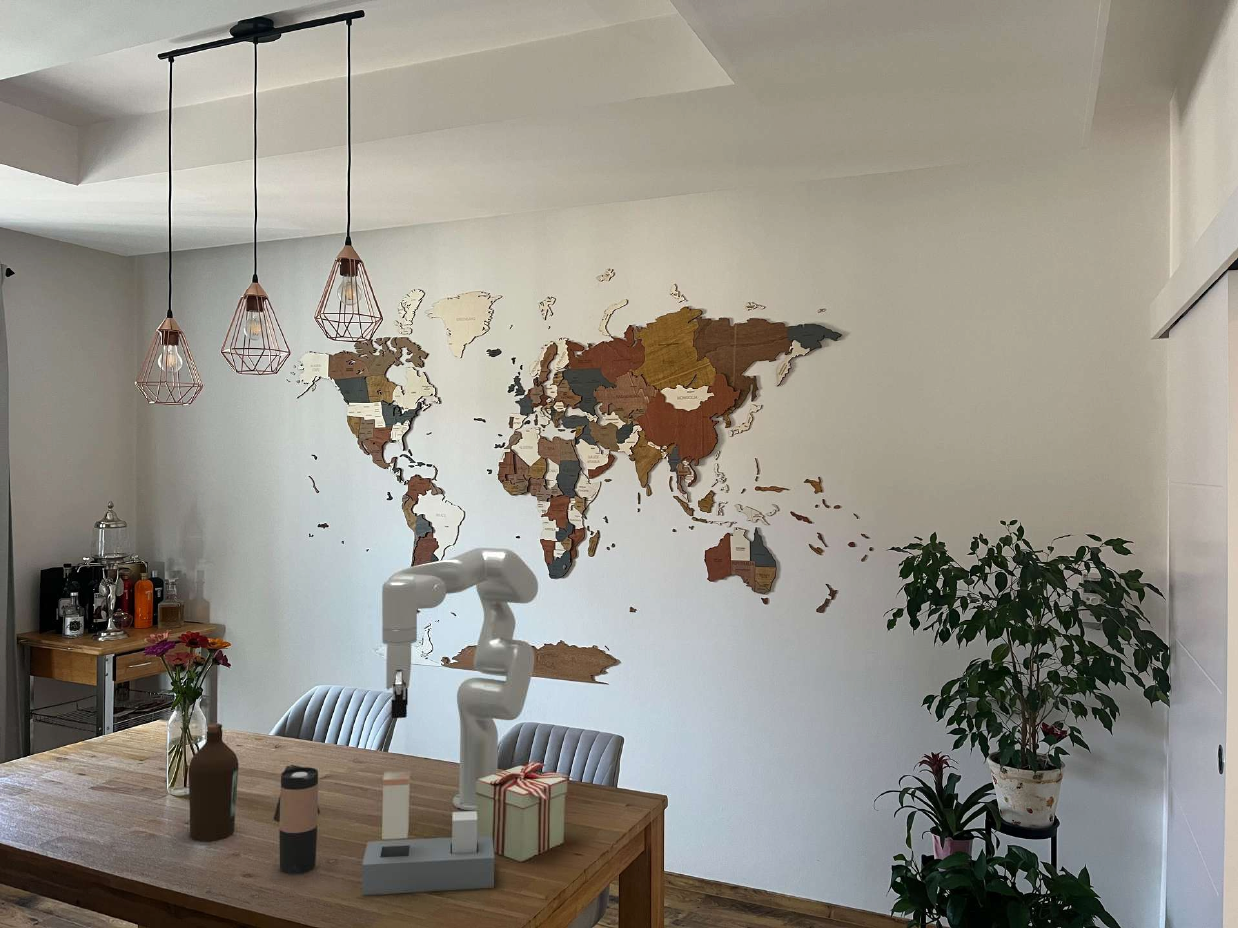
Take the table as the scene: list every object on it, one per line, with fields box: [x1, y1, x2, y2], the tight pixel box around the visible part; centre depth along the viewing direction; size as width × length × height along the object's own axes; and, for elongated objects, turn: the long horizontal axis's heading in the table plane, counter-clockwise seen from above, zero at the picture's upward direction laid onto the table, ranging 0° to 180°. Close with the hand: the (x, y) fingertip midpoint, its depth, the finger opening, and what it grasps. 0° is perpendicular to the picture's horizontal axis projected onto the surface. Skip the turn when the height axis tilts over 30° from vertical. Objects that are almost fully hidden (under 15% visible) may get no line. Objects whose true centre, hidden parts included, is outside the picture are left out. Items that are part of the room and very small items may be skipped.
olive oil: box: [187, 723, 240, 842], centre depth 217 cm, size 11×11×25 cm
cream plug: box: [381, 770, 411, 840], centre depth 193 cm, size 5×5×12 cm
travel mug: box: [278, 766, 319, 875], centre depth 199 cm, size 8×8×20 cm
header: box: [361, 810, 495, 896], centre depth 194 cm, size 26×12×13 cm, turn 100°
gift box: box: [476, 761, 571, 863], centre depth 213 cm, size 17×18×17 cm
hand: (399, 711), depth 210 cm, fingers open, 9 cm apart
